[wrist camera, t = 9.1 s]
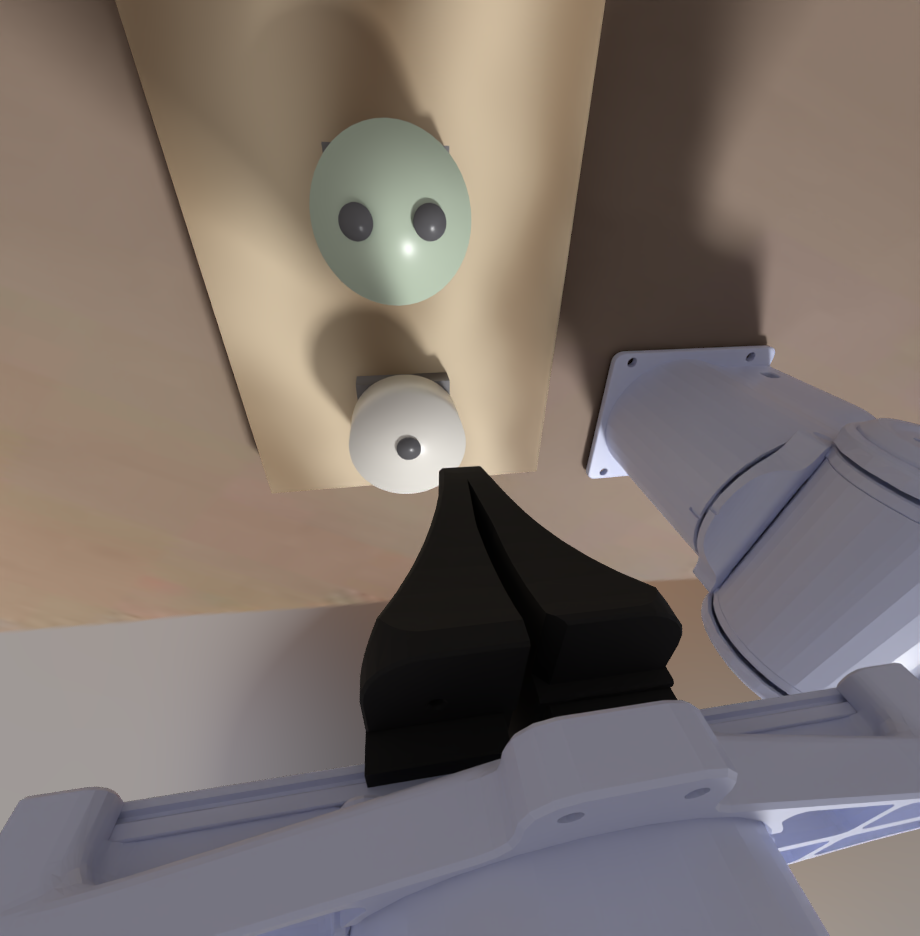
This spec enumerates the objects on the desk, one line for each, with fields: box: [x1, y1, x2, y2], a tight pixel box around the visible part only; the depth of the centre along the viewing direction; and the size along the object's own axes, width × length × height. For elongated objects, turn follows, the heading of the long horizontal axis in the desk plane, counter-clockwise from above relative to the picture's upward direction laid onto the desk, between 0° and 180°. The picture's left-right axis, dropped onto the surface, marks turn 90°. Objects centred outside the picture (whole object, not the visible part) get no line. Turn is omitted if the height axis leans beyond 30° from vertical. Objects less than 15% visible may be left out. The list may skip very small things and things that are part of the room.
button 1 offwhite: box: [349, 375, 466, 494], centre depth 17 cm, size 5×5×2 cm
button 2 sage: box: [309, 118, 471, 306], centre depth 13 cm, size 5×5×2 cm
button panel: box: [115, 0, 605, 493], centre depth 15 cm, size 14×24×3 cm, turn 179°
